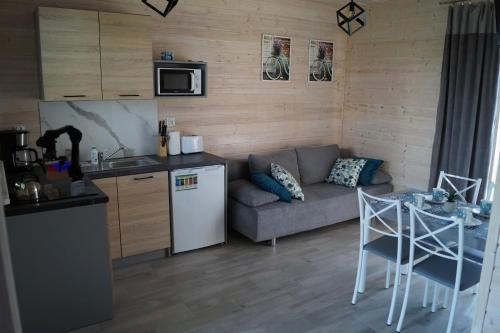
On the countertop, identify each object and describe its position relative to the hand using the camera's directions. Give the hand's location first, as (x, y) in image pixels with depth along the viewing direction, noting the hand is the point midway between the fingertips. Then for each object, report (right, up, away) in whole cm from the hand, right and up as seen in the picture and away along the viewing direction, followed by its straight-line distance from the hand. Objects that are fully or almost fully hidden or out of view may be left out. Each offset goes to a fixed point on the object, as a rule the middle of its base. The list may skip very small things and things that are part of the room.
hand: (52, 173), depth 263 cm
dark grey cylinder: (-4, -15, +4) cm, 16 cm away
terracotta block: (-7, -14, +9) cm, 18 cm away
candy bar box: (-28, +3, +97) cm, 101 cm away
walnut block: (+1, -16, -1) cm, 16 cm away
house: (-22, -4, +60) cm, 64 cm away
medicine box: (+13, -15, +8) cm, 21 cm away
